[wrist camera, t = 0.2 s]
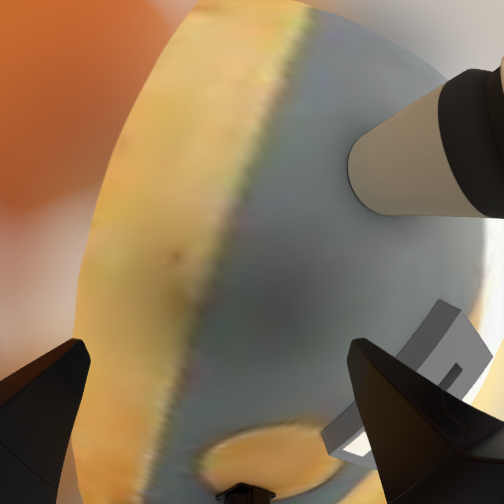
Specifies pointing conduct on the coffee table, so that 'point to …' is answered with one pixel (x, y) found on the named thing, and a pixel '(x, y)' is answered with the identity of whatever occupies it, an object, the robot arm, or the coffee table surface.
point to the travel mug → (437, 153)
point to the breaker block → (428, 365)
